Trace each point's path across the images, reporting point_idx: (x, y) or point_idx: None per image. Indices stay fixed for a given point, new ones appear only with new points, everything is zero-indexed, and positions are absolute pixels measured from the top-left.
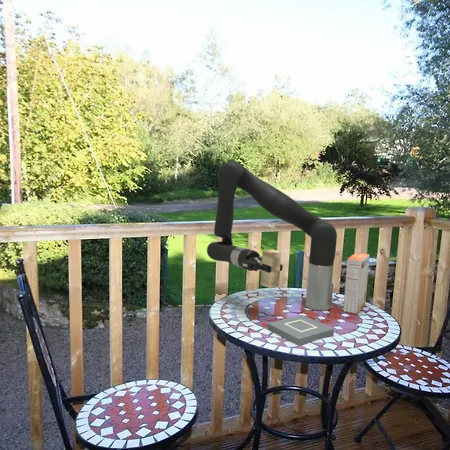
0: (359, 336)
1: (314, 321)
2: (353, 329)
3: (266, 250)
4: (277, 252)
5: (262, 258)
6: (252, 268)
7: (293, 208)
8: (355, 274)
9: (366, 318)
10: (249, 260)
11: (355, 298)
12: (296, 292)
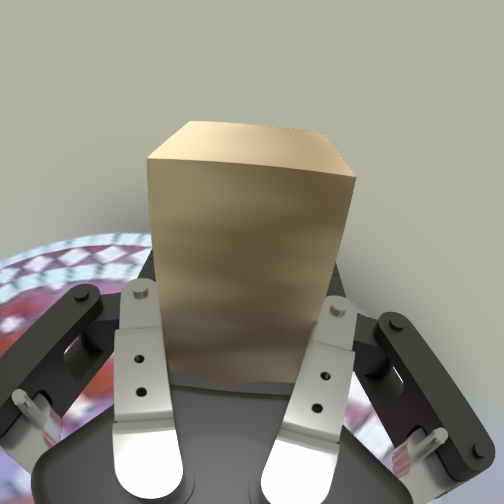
0: (128, 264)
1: None
2: (95, 282)
3: (278, 164)
4: (234, 124)
5: (329, 271)
6: (393, 395)
7: None
8: None
9: (11, 288)
10: (395, 493)
11: None
12: None
